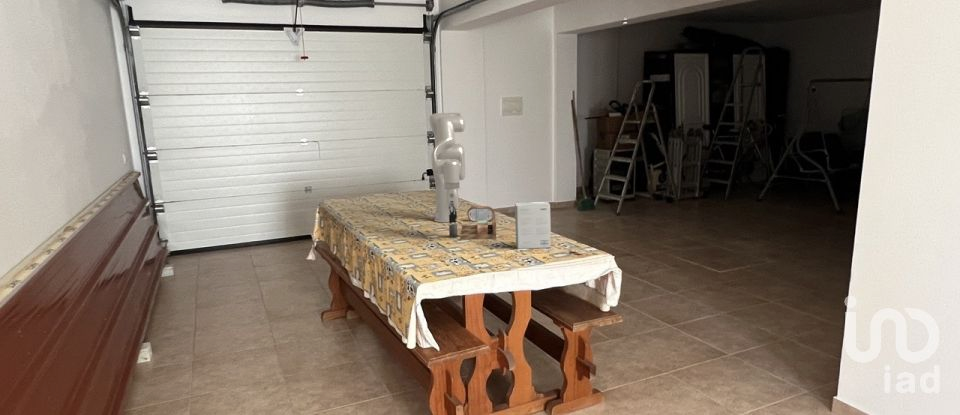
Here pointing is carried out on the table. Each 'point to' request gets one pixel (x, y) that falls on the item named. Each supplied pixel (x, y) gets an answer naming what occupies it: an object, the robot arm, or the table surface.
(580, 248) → the table surface
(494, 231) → the lane rack
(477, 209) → the tin
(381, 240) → the table surface
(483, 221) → the sage block
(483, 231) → the pull block
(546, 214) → the hard drive box
